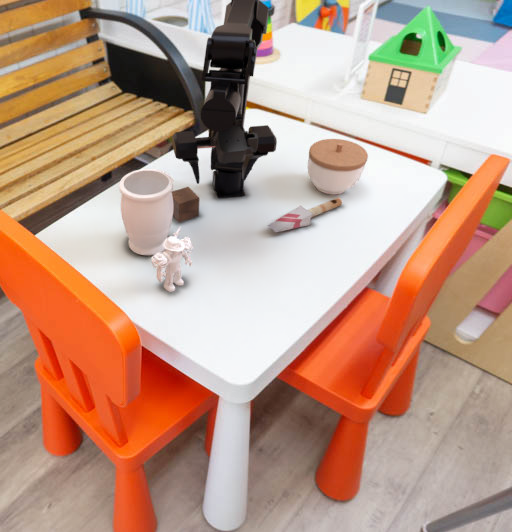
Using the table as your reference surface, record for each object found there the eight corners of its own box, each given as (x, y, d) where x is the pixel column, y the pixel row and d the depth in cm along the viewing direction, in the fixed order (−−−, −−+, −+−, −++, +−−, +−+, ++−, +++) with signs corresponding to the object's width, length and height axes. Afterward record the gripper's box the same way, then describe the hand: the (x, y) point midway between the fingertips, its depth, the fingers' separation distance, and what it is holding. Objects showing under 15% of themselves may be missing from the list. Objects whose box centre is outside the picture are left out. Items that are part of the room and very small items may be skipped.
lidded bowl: (331, 167, 131) (341, 126, 124) (370, 191, 122) (382, 148, 115) (291, 181, 127) (299, 139, 119) (329, 207, 118) (339, 164, 111)
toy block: (187, 205, 121) (188, 186, 118) (198, 216, 117) (199, 197, 114) (168, 210, 119) (168, 192, 116) (178, 222, 116) (179, 203, 113)
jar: (145, 222, 116) (142, 162, 106) (183, 240, 111) (184, 178, 101) (113, 247, 110) (107, 185, 100) (152, 266, 105) (150, 204, 95)
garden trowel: (266, 218, 111) (334, 192, 119) (264, 229, 112) (331, 203, 120) (278, 227, 108) (347, 200, 116) (276, 238, 110) (344, 211, 118)
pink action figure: (183, 269, 104) (184, 220, 96) (197, 279, 102) (199, 229, 94) (148, 290, 100) (146, 240, 92) (162, 301, 98) (161, 251, 90)
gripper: (180, 130, 87) (179, 208, 98) (291, 122, 88) (278, 199, 98) (171, 102, 96) (171, 176, 106) (272, 94, 96) (263, 169, 107)
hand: (220, 180), depth 104 cm, fingers open, 9 cm apart
